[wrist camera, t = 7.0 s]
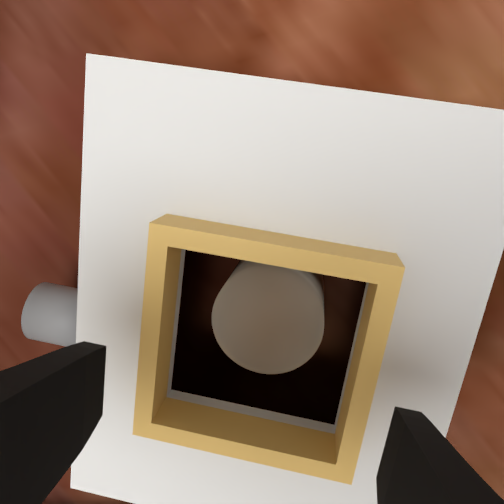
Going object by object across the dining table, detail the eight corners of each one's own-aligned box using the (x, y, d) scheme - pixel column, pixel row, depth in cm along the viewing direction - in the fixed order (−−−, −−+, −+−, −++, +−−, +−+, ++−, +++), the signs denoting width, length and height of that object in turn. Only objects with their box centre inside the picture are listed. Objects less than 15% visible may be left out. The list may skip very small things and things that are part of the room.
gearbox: (481, 120, 17) (574, 112, 11) (386, 471, 21) (412, 612, 15) (78, 64, 18) (-45, 29, 12) (68, 399, 23) (-27, 499, 17)
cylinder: (331, 250, 19) (333, 279, 15) (315, 335, 20) (313, 383, 16) (238, 234, 19) (218, 259, 16) (228, 319, 20) (206, 362, 17)
